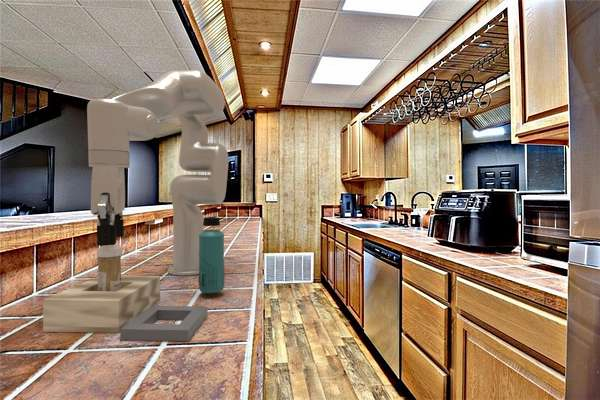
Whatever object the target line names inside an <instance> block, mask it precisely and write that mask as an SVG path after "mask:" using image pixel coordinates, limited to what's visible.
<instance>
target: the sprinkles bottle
mask: <svg viewBox="0 0 600 400" xmlns="http://www.w3.org/2000/svg"><path fill="white" fill-rule="evenodd" d="M122 254H123V247H122V245H116V244H115V245H104V246H98V247H97V249H96V256H97V263H98V264H97V277H98V291H118V290H120V289H121V275H122V265H121V264H122Z"/></svg>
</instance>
